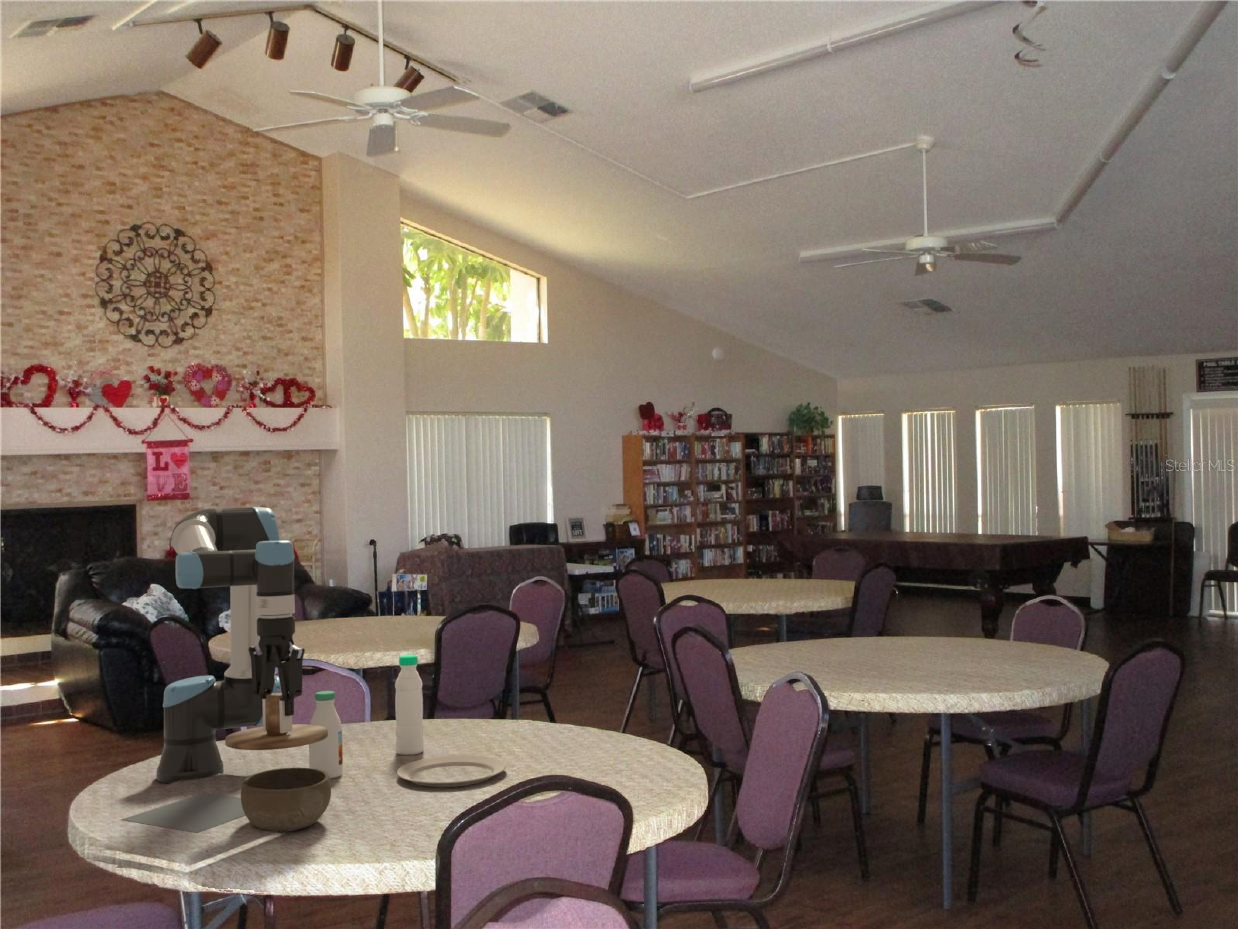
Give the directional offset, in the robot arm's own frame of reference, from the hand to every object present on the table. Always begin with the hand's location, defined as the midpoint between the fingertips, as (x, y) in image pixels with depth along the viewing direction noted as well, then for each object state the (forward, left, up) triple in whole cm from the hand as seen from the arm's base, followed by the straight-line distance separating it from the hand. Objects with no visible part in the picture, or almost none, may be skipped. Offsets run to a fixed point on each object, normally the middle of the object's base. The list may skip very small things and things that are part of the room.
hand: (277, 730), depth 226 cm
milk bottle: (-18, +35, -20) cm, 44 cm away
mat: (-20, -1, -19) cm, 28 cm away
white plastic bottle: (-14, +62, -20) cm, 66 cm away
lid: (0, 0, -2) cm, 2 cm away
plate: (+10, +47, -20) cm, 51 cm away
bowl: (+2, +1, -20) cm, 20 cm away
